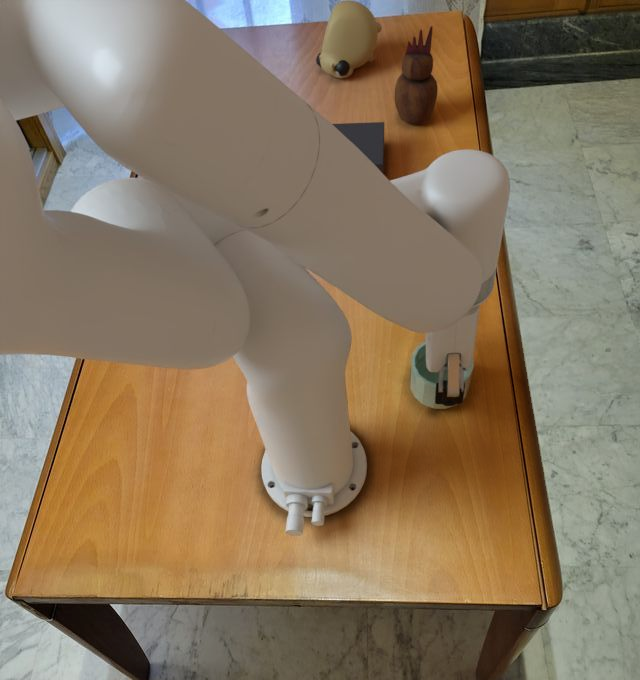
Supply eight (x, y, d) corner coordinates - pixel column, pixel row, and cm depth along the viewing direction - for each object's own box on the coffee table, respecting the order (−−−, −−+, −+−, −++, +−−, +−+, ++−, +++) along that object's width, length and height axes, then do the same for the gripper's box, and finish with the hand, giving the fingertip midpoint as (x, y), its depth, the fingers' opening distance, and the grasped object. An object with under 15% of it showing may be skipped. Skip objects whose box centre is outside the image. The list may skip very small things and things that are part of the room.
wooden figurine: (440, 114, 107) (448, 21, 94) (424, 134, 105) (430, 41, 92) (405, 103, 109) (408, 11, 96) (389, 123, 107) (389, 31, 94)
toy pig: (332, 75, 121) (295, 56, 113) (360, 7, 116) (323, -18, 108) (367, 94, 117) (331, 76, 109) (398, 25, 111) (362, 0, 103)
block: (382, 188, 99) (382, 163, 96) (319, 189, 101) (316, 165, 97) (384, 146, 104) (384, 121, 100) (323, 148, 105) (321, 124, 102)
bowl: (469, 411, 78) (474, 387, 74) (409, 411, 79) (411, 386, 74) (467, 363, 82) (472, 337, 77) (410, 363, 83) (411, 337, 78)
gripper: (418, 211, 68) (416, 312, 82) (418, 345, 59) (416, 430, 74) (490, 208, 66) (475, 311, 81) (500, 344, 58) (482, 430, 73)
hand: (447, 367), depth 78 cm, fingers open, 9 cm apart
